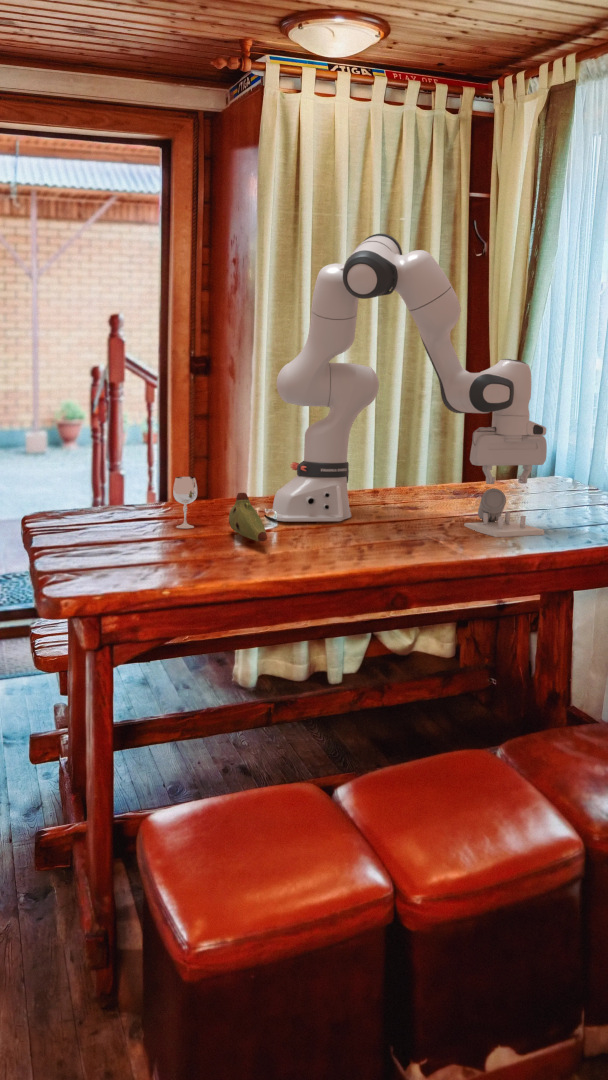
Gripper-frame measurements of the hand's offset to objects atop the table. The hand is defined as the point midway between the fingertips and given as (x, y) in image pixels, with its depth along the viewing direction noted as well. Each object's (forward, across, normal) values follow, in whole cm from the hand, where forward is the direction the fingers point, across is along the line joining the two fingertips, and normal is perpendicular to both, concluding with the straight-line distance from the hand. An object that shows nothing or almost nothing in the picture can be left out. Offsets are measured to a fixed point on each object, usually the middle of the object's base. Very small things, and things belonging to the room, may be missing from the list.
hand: (506, 483), depth 222 cm
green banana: (+12, -65, +7) cm, 66 cm away
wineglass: (+12, -75, +24) cm, 80 cm away
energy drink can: (+4, -3, +1) cm, 5 cm away
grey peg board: (+12, 0, 0) cm, 12 cm away
